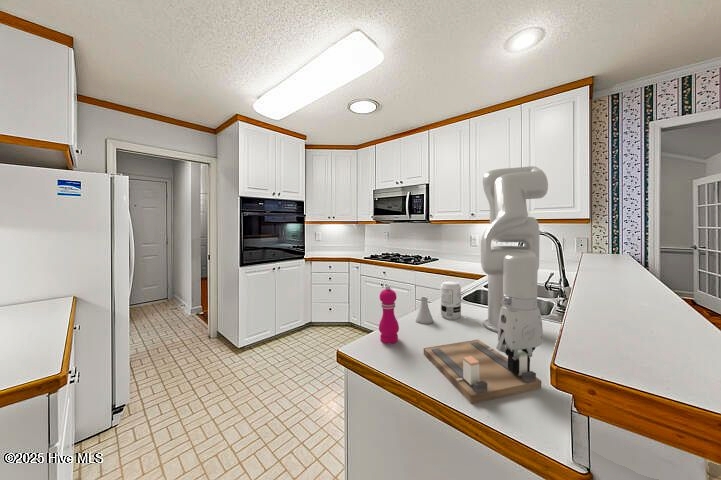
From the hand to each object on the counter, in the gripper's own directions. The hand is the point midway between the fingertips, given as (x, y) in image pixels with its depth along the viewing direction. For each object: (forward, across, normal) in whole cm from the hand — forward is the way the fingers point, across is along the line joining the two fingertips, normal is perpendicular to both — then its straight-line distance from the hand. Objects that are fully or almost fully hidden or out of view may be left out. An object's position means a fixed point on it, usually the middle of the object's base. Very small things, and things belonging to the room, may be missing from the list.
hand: (518, 370), depth 70 cm
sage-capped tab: (0, 0, 0) cm, 0 cm away
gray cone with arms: (+3, -4, +45) cm, 45 cm away
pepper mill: (+3, -24, +33) cm, 41 cm away
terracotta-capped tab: (0, -14, 0) cm, 14 cm away
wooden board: (+3, -7, +8) cm, 11 cm away
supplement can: (+3, +9, +46) cm, 47 cm away
